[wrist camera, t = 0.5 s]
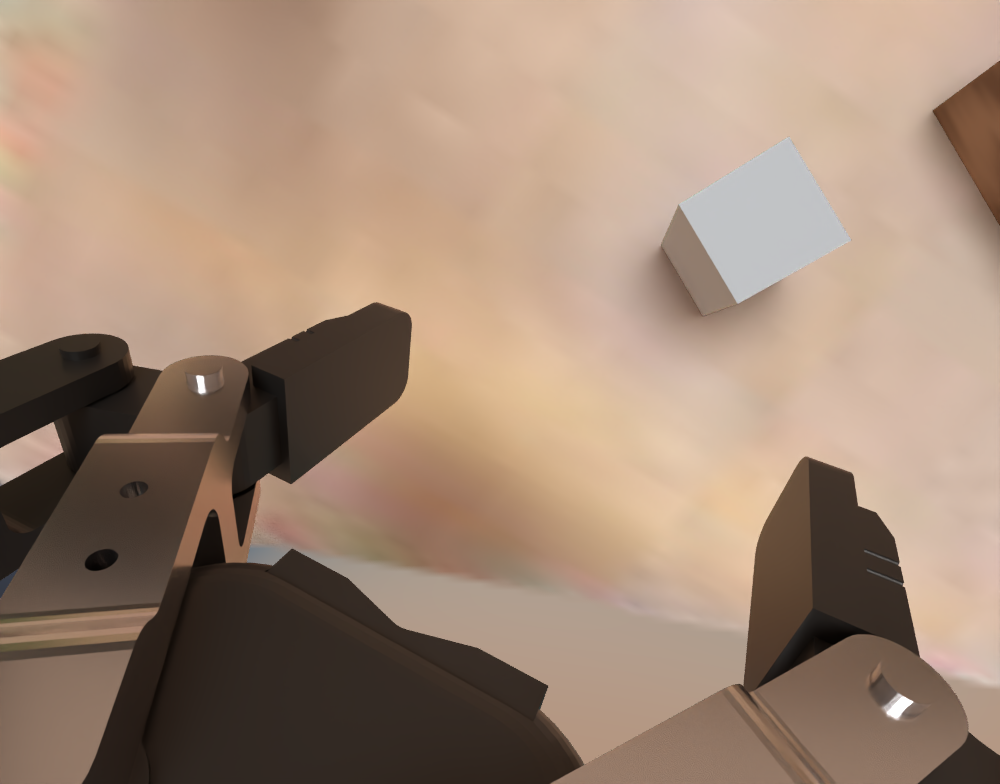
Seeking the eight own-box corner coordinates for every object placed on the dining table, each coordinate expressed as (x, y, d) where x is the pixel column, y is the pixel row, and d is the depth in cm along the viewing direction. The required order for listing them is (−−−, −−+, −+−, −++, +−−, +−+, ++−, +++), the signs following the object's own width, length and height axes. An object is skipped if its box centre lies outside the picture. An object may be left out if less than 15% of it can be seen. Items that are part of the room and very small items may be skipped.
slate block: (660, 245, 34) (678, 204, 24) (738, 198, 33) (788, 136, 23) (702, 316, 34) (737, 303, 24) (781, 271, 33) (851, 240, 23)
